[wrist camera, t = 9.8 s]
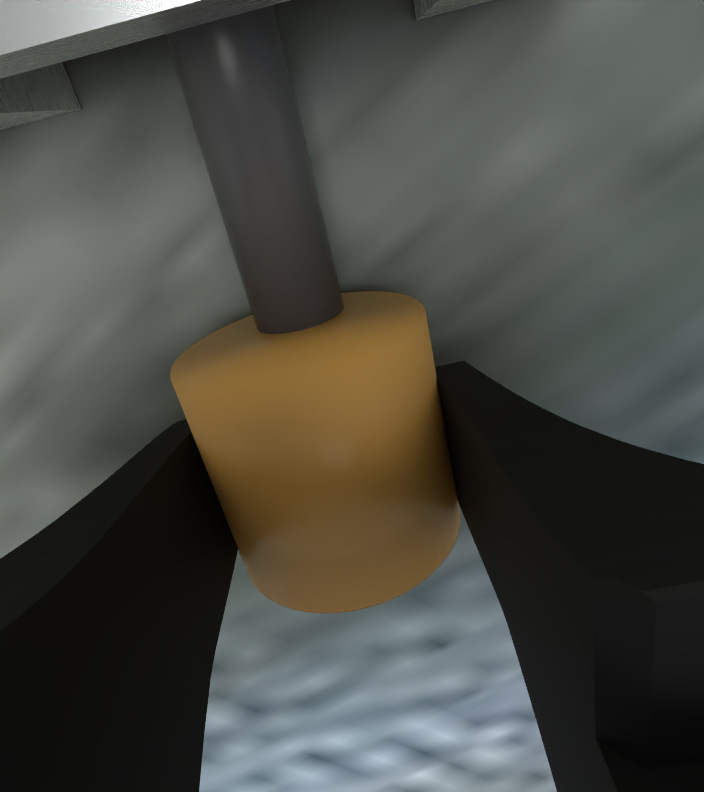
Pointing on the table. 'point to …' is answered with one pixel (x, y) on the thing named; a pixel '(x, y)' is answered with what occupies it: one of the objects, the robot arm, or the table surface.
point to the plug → (305, 360)
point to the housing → (101, 41)
